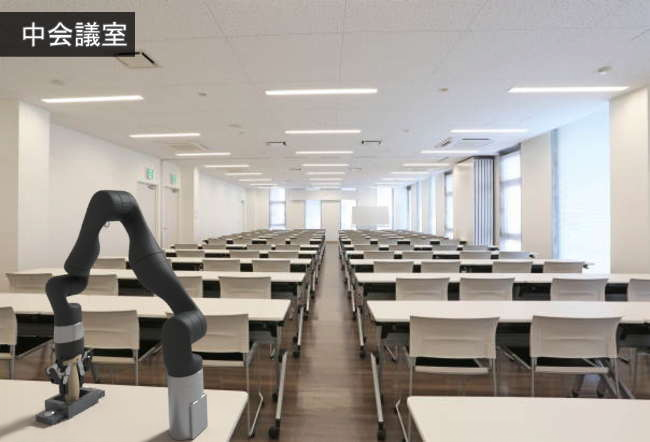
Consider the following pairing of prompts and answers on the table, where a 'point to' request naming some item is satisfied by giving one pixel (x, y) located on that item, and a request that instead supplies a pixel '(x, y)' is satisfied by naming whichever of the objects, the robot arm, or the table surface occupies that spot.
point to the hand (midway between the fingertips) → (72, 390)
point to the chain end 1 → (55, 410)
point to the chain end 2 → (86, 399)
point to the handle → (72, 379)
